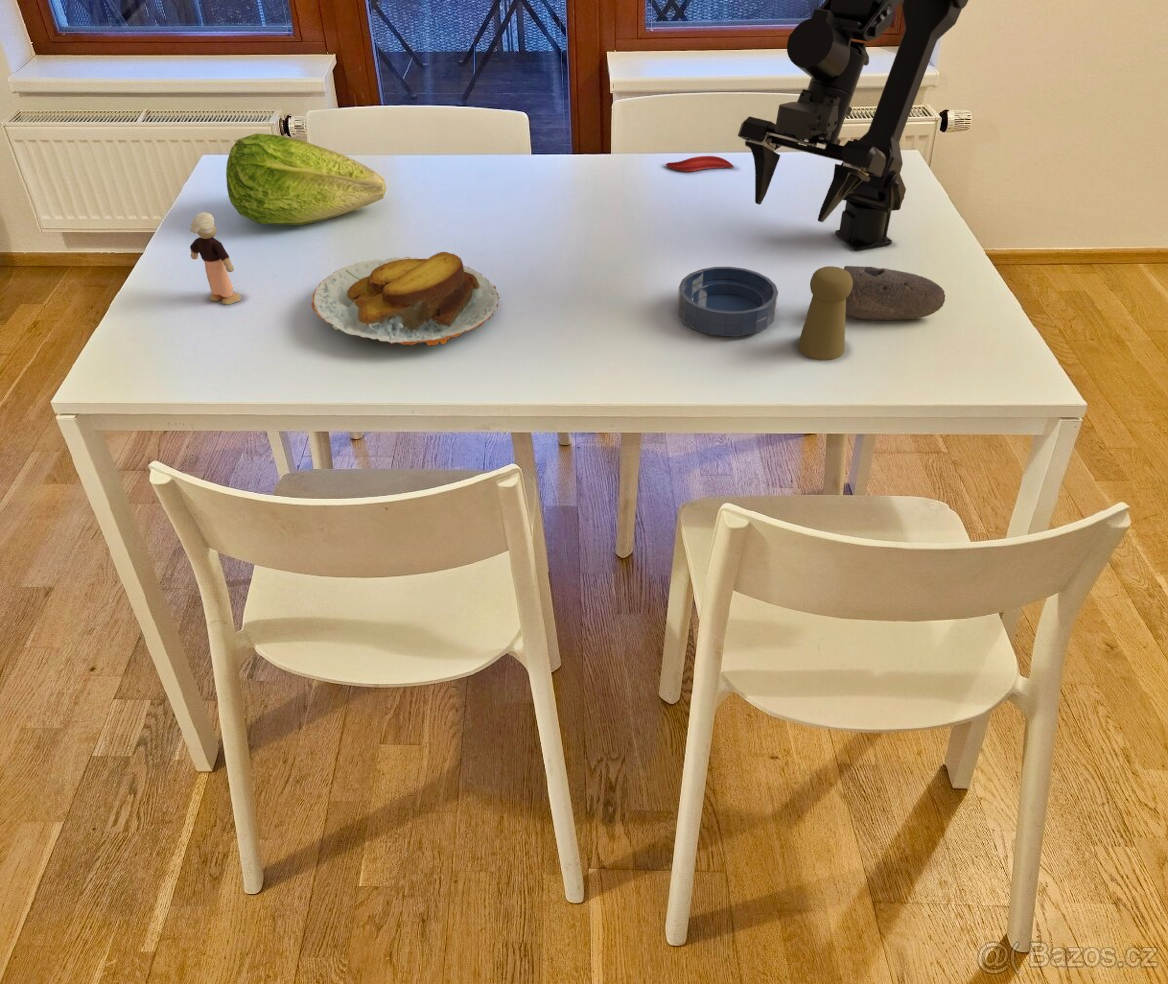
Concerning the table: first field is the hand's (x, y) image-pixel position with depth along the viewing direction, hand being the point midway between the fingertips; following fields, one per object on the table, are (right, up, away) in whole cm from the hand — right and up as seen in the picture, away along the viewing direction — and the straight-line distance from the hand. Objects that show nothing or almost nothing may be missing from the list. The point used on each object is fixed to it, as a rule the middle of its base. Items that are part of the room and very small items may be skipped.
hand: (788, 212), depth 134 cm
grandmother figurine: (-78, -9, +12) cm, 80 cm away
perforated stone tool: (+14, -13, +6) cm, 20 cm away
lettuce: (-71, +8, +33) cm, 78 cm away
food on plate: (-51, -12, +9) cm, 53 cm away
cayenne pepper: (-9, +36, +37) cm, 52 cm away
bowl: (-7, -12, +7) cm, 16 cm away
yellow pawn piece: (+4, -18, 0) cm, 18 cm away
